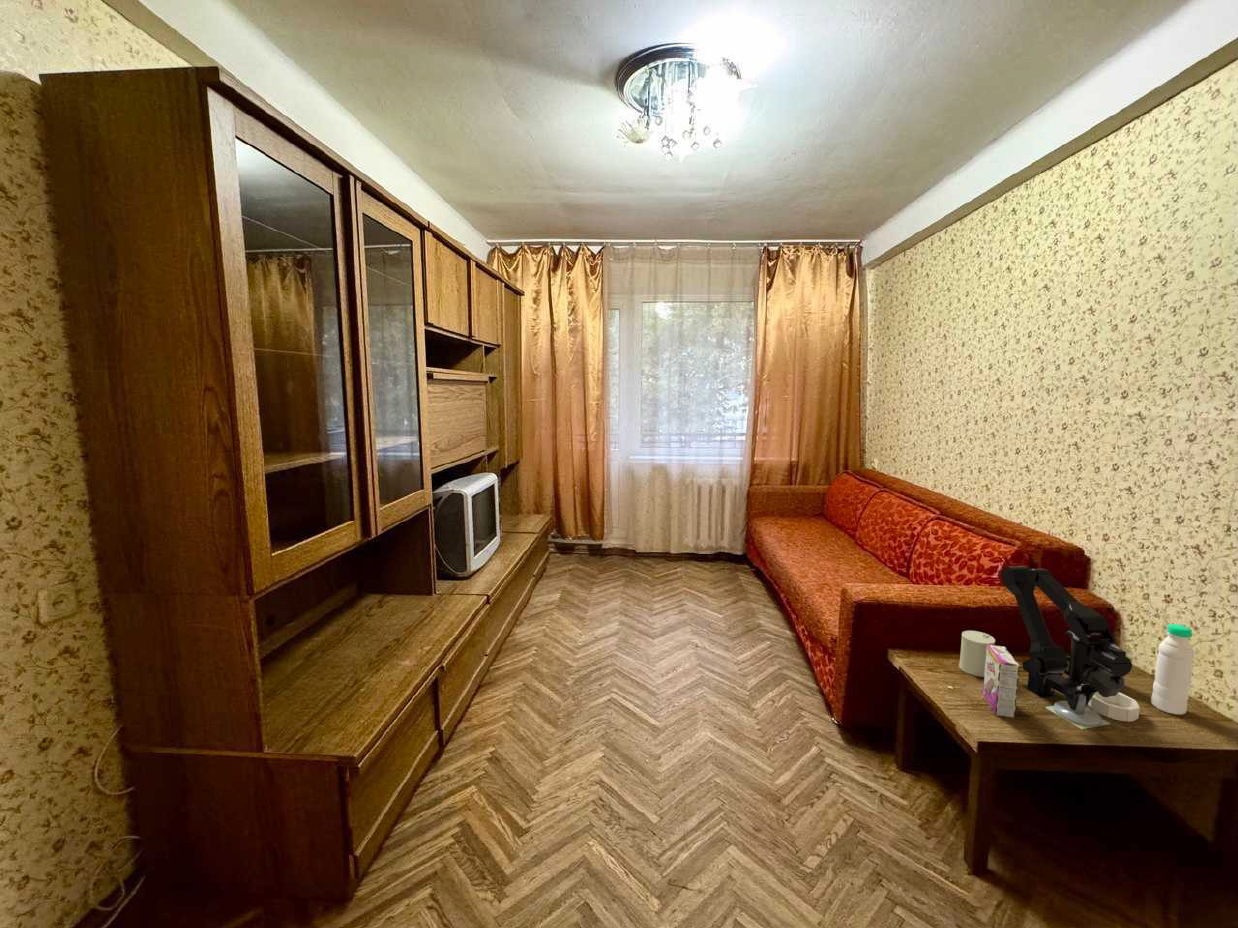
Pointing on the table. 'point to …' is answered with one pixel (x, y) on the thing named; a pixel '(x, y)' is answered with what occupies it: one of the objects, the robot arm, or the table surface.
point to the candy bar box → (1001, 680)
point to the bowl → (1115, 707)
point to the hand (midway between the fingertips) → (1077, 708)
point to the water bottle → (1173, 671)
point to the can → (974, 652)
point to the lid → (1078, 713)
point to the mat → (1075, 723)
